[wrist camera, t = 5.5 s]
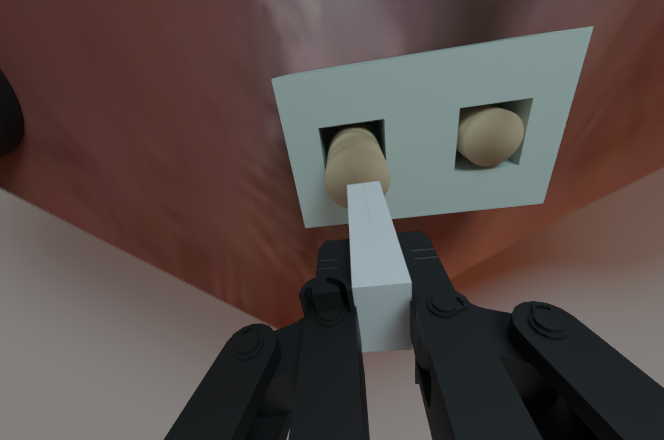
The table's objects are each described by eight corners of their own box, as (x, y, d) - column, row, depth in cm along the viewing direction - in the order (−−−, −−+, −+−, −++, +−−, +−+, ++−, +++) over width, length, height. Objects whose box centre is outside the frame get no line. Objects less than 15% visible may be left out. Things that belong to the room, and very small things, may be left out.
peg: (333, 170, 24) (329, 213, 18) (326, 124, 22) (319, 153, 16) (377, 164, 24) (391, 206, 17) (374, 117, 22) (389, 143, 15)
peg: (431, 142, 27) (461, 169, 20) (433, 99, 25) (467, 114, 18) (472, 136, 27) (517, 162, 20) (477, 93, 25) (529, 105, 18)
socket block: (314, 187, 32) (305, 228, 24) (292, 73, 26) (271, 78, 18) (491, 166, 30) (543, 203, 22) (512, 37, 24) (593, 26, 16)
